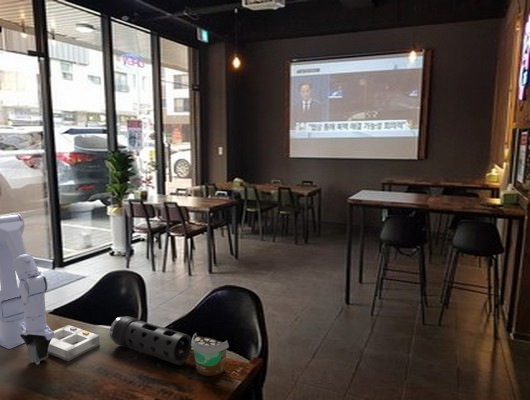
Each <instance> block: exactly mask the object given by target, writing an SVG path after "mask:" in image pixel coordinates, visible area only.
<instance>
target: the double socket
mask: <svg viewBox="0 0 530 400" xmlns="http://www.w3.org/2000/svg"><path fill="white" fill-rule="evenodd" d="M52 331H53V332H54V338H52V339H51V341H50V344H49V347H48V355H51V356H53V357H56V358H59V359H61V360H63V361H66V362H70V361H71V360H73V359H77V358H78V357H80V356H82V355H83V354H85V353H87V352H89V351H91V350H93V349H95V348H97V347H98V346H101V345H100V344H101V343H100V335H99V334H96V333H93V332H90V331H88V330H85V329H82V328H80V327H79V328H78V327H76V326H73V325H69V324H67V325H64V326H63V327H60V328H58V329H55V330H52Z"/></svg>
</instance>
